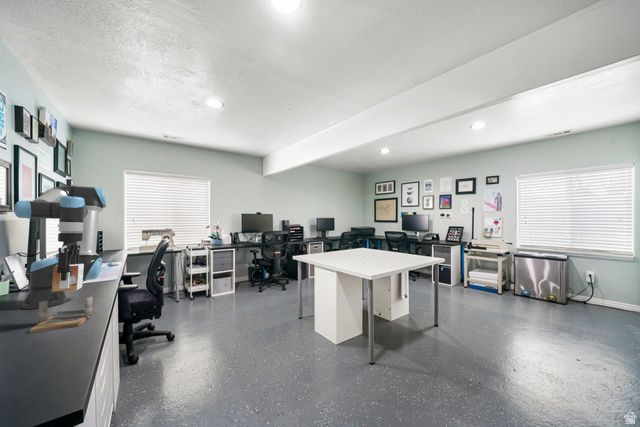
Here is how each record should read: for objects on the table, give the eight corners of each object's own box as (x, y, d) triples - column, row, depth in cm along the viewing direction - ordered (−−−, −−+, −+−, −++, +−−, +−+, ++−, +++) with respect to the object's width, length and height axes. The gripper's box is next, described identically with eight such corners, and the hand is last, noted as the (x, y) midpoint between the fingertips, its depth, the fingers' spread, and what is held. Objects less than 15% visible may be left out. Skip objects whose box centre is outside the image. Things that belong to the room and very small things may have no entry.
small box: (51, 292, 102) (53, 266, 103) (58, 289, 107) (59, 264, 108) (77, 290, 106) (78, 265, 106) (82, 287, 111) (84, 263, 111)
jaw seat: (50, 317, 110) (51, 296, 111) (98, 311, 118) (99, 292, 118) (24, 333, 94) (26, 308, 95) (82, 325, 101) (83, 302, 102)
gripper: (69, 231, 114) (66, 282, 113) (47, 232, 98) (43, 292, 96) (90, 231, 118) (87, 281, 117) (72, 232, 101) (69, 290, 100)
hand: (67, 286), depth 107 cm, fingers closed on small box, 6 cm apart
